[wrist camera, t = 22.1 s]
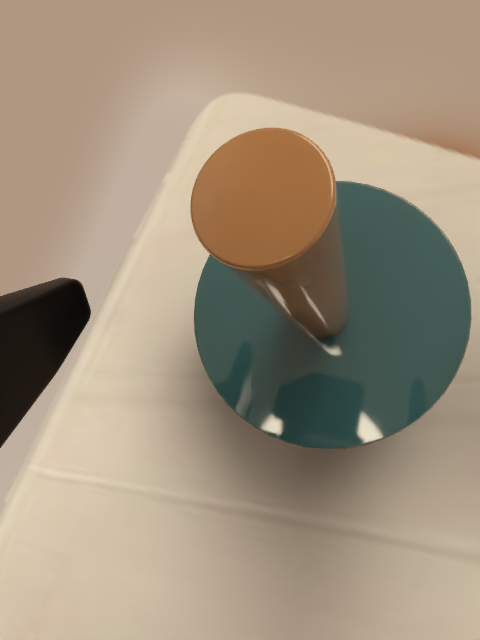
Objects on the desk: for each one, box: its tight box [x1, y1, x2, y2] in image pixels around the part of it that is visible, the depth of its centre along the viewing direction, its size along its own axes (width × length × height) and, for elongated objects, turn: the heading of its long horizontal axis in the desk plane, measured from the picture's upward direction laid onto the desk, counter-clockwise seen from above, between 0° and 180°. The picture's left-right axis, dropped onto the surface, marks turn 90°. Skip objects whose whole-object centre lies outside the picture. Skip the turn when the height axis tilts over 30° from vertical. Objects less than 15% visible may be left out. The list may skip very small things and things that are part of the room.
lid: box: [191, 128, 471, 449], centre depth 11 cm, size 10×10×11 cm
